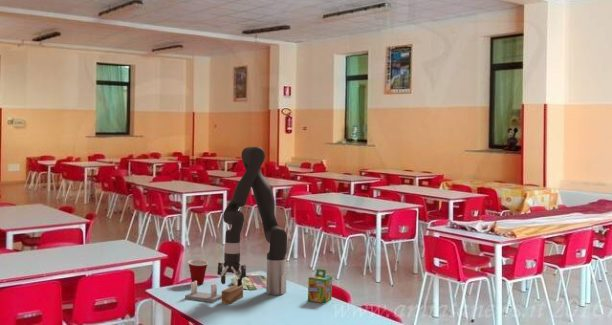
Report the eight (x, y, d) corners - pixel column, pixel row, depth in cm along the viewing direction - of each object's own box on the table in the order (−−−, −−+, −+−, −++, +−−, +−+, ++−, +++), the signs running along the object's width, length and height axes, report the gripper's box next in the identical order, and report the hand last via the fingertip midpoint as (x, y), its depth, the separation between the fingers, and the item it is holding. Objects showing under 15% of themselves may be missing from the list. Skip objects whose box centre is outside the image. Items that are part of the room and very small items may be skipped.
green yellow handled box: (307, 301, 288) (307, 270, 288) (314, 296, 297) (315, 267, 296) (325, 303, 285) (325, 272, 284) (332, 299, 293) (332, 269, 293)
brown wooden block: (243, 297, 293) (243, 285, 293) (229, 304, 281) (230, 292, 281) (234, 296, 295) (234, 284, 295) (221, 303, 283) (221, 291, 283)
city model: (246, 297, 301) (247, 286, 301) (220, 283, 318) (221, 271, 318) (284, 290, 318) (285, 279, 318) (257, 276, 335) (258, 266, 335)
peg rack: (222, 298, 291) (222, 282, 291) (214, 302, 284) (214, 286, 284) (194, 294, 297) (194, 279, 297) (185, 298, 290) (185, 283, 290)
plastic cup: (201, 287, 310) (202, 264, 310) (183, 285, 314) (183, 262, 314) (212, 282, 321) (212, 260, 320) (194, 280, 324) (194, 258, 324)
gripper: (249, 251, 288) (248, 285, 289) (223, 248, 294) (222, 281, 294) (241, 254, 281) (240, 288, 282) (215, 251, 287) (214, 284, 287)
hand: (231, 285), depth 288 cm, fingers open, 8 cm apart
